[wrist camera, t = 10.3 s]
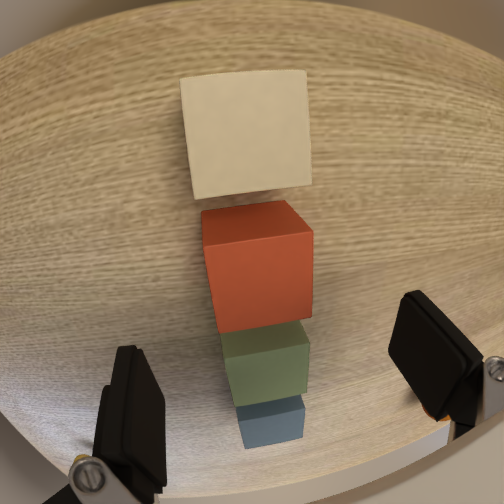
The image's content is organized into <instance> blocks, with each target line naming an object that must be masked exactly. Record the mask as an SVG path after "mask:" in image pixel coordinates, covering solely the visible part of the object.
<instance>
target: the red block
mask: <svg viewBox="0 0 504 504" xmlns="http://www.w3.org/2000/svg"><path fill="white" fill-rule="evenodd" d="M201 216H202V242H203V252H204V258H205V264H206V270H207V275H208V281H209V286H210V292H211V297H212V302H213V307H214V313H215V318H216V323H217V328H218V333H227V332H233V331H239V330H245V329H251V328H257V327H263V326H269V325H274V324H280V323H285V322H290V321H295V320H300V319H305V318H310V317H312V294H313V230H312V229H311V228H310V227H309V226H308V225H307V224H306V223H305V221H304V220H303V219H302V218H301V217H300V216H299V215H298V214H297V213H296V212H295V211H294V210H293V208H292V207H291V206H290V205H289V204H288V203H287V202H286V201H285V200H282V201H274V202H266V203H258V204H250V205H242V206H235V207H227V208H220V209H213V210H206V211H202V212H201Z"/></svg>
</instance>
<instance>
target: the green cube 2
mask: <svg viewBox="0 0 504 504" xmlns="http://www.w3.org/2000/svg"><path fill="white" fill-rule="evenodd" d="M220 337H221V344H222V352H223V359H224V364H225V368H226V373H227V377H228V381H229V386H230V390H231V394H232V399H233V403H234V407H238V406H244V405H250V404H256V403H261V402H267V401H272V400H277V399H282V398H286V397H291V396H295V395H300V394H304V393H307V382H308V368H309V352H310V342H309V339H308V337H307V335H306V333H305V331H304V329H303V327H302V325H301V322H300V320H295V321H290V322H285V323H280V324H274V325H269V326H263V327H257V328H251V329H245V330H239V331H233V332H227V333H220Z"/></svg>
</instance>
